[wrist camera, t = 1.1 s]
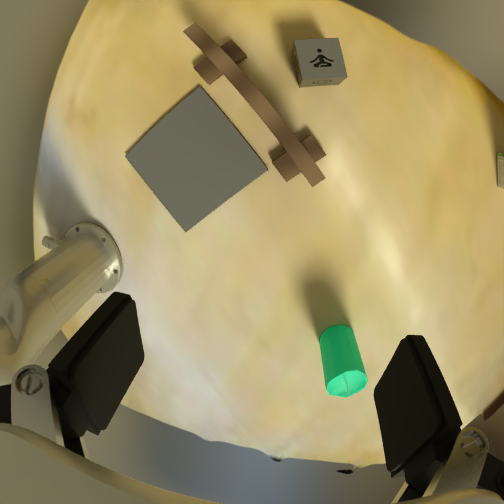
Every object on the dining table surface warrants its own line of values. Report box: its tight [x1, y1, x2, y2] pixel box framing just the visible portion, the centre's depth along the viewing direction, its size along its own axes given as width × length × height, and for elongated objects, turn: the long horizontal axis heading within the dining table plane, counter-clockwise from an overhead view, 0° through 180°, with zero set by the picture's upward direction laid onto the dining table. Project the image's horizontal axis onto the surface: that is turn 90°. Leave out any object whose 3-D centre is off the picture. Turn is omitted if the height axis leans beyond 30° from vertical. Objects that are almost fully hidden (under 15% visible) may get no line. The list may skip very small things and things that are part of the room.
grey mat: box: [125, 87, 268, 232], centre depth 34 cm, size 14×14×1 cm
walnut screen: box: [183, 23, 326, 187], centre depth 27 cm, size 20×6×10 cm, turn 37°
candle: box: [319, 325, 368, 397], centre depth 38 cm, size 6×6×12 cm
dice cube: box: [292, 38, 347, 88], centre depth 26 cm, size 5×5×5 cm
